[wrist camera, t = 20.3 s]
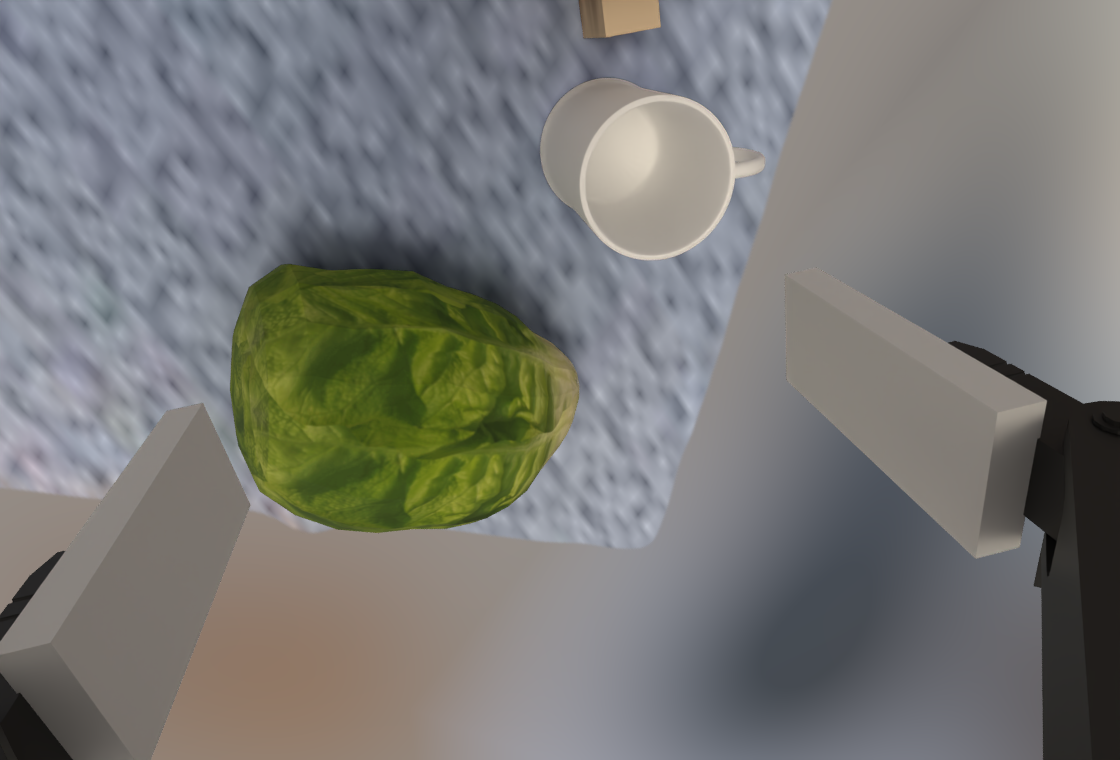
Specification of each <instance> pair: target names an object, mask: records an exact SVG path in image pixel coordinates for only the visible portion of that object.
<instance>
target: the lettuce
mask: <svg viewBox="0 0 1120 760" xmlns="http://www.w3.org/2000/svg"><path fill="white" fill-rule="evenodd" d="M230 393H231V400H232V407H233V415H234V422H235V429H236V436H237V441H238V446H239V448H240V450H241V452H242V455H243V457H244V459H245V461H246V463H247V465H248V468H249V470H250V472H251V474H252V476H253V479H254V481H255V483H256V485H257V487H258V489H259V491H260V492H261V493H263V494H264V495H266V496H267V497H269V498H270V499H272V500H273V501H275V502H276V503H278V504H279V505H281V506H282V507H284V508H285V509H287V510H288V511H290V512H291V513H293V514H294V515H297V516H300V517H302V518H305V519H308V520H311V521H314V522H317V523H320V524H323V525H326V526H329V527H332V528H335V529H338V530H349V531H362V532H373V533H380V532H389V531H398V530H408V529H447V528H451V527H456V526H461V525H465V524H470V523H473V522H476V521H479V520H482V519H485V518H487V517H489V516H491V515H493V514H495V513H497V512H499V511H501V510H503V509H504V508H506V507H508V506H509V505H510V504H512V503H513V502H514V501H515V500H516V499H518V498H519V497H520V496H521V495H522V494H523V493H525V492H526V491H527V490H528V488H529V487H530V485H531V484H532V482H533V481H534V479H535V478H536V476H537V475H538V473H539V472H540V470H541V469H542V468H543V466H544V465H545V464H546V462H547V461H548V460H549V459H550V457H551V456H552V455H553V454H554V452H555V451H556V450H557V448H558V447H559V446H560V444H561V443H562V441H563V439H564V438H565V436H566V435H567V433H568V431H569V428H570V426H571V424H572V422H573V418H574V415H575V411H576V407H577V403H578V399H579V381H578V376H577V372H576V370H575V368H574V366H573V364H572V363H571V361H570V360H569V359H568V358H567V357H566V356H565V355H564V354H563V353H562V352H561V351H560V350H559V349H558V348H557V347H556V346H555V345H554V344H552V343H551V342H549V341H548V340H546V339H544V338H542V337H541V336H539V335H537V334H535V333H533V332H532V331H531V330H530V329H529V328H528V327H527V326H526V325H525V324H524V323H523V322H521V321H520V320H519V319H518V318H517V317H516V316H515V315H513V314H511V313H510V312H508V311H507V310H505V309H503V308H502V307H500V306H499V305H497V304H495V303H493V302H491V301H488V300H486V299H483V298H481V297H478V296H476V295H473V294H470V293H467V292H463V291H460V290H456V289H453V288H450V287H447V286H444V285H442V284H440V283H438V282H435V281H433V280H431V279H429V278H426V277H424V276H422V275H420V274H417V273H415V272H413V271H400V270H382V269H350V270H325V269H318V268H312V267H305V266H299V265H292V264H285V265H280V266H279V267H277V268H276V269H274V270H273V271H271V272H270V273H269V274H267V275H266V276H264V277H263V278H261V279H260V280H259V281H257V282H256V283H254V284H253V285H251V286H250V287H249V289H248V291H247V294H246V297H245V300H244V303H243V306H242V309H241V311H240V314H239V317H238V320H237V323H236V326H235V329H234V333H233V341H232V358H231V380H230Z"/></svg>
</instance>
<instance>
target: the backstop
mask: <svg viewBox="0 0 1120 760" xmlns="http://www.w3.org/2000/svg"><path fill="white" fill-rule="evenodd" d="M579 7H580V14H581V22H582V29H583V37H584V38H604V37H611V36H616V35H622V34H627V33H632V32H638V31H643V30H648V29H654V28H659V27H661V25H660V13H659V1H658V0H579Z"/></svg>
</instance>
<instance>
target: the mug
mask: <svg viewBox="0 0 1120 760" xmlns="http://www.w3.org/2000/svg"><path fill="white" fill-rule="evenodd" d="M540 157H541V164H542V168H543V172H544V175H545V177H546V180H547V182H548V184H549V186H550V187H551V189H552V190H553V192H554V193H555V194H556V195H557V196H558V198H559V199H560V200H562V201H563V202H564V203H565V204H566V205H568V206H569V207H571V208H573V209H574V210H575V211H576V212H577V214H578V215H579V216H580V217H581V218H582V219H583V220H584V222H585V223H586V224H587V225H588V226H589V227H590V229H591V230H592V231H593V232H594V233H595V234H596V235H597V236H598V238H599V239H600V240H601V241H602V242H604V243H605V244H606V245H607V246H608V247H610V248H611V249H613V250H614V251H616V252H618V253H620V254H622V255H625V256H627V257H631V258H634V259H640V260H661V259H666V258H670V257H674V256H677V255H679V254H681V253H684V252H686V251H688V250H689V249H691V248H693V247H694V246H696V245H697V244H698V243H700V242H701V241H702V240H703V239H705V238H706V237H707V236H708V235H709V234H710V233H711V231H712V230H713V229H714V228H715V227H716V225H717V224H718V223H719V221H720V220H721V218H722V216H723V215H724V213H725V211H726V209H727V207H728V204H729V202H730V199H731V196H732V192H733V188H734V182H735V179H736V178H742V177H747V176H751V175H755V174H757V173H759V172H761V171H762V170H763V169H764V167H765V157H764V155H763V154H761V153H760V152H757V151H754V150H750V149H745V148H737V147H732V145H731V142H730V139H729V137H728V134H727V132H726V131H725V129H724V127H723V126H722V124H721V123H720V122H719V120H718V119H717V118H716V117H715V116H714V115H713V114H712V113H711V112H710V111H709V110H708V109H706V108H705V107H704V106H702V105H700V104H699V103H697V102H695V101H693V100H690V99H688V98H685V97H681V96H677V95H673V94H668V93H663V92H658V91H653V90H649V89H644V88H640V87H639V86H637V85H635V84H633V83H631V82H629V81H626V80H622V79H617V78H599V79H594V80H590V81H587V82H584V83H582V84H580V85H578V86H576V87H575V88H573V89H572V90H570V91H569V92H568V93H566V94H565V95H564V96H563V97H562V98H561V99H560V100H559V101H558V102H557V104H556V105H555V106H554V108H553V109H552V111H551V112H550V114H549V116H548V118H547V120H546V123H545V125H544V128H543V132H542V136H541V144H540ZM735 161H736V162H735Z"/></svg>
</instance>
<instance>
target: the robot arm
mask: <svg viewBox="0 0 1120 760" xmlns="http://www.w3.org/2000/svg"><path fill="white" fill-rule="evenodd" d="M785 321H786V322H785V325H786V380H787V381H788V382H789V383H790V384H791V385H792V386H793V387H794V388H795V389H796V390H797V391H799V392H800V393H801V394H802V395H803V396H804V397H805V398H806V399H807V400H808V401H809V402H810V403H811V404H812V405H813V406H814V407H815V408H816V409H818V410H819V411H820V412H821V413H822V414H823V415H824V416H825V417H826V418H827V419H828V420H829V421H830V422H831V423H832V424H833V425H835V426H836V427H837V428H838V429H839V430H840V431H841V432H842V433H843V434H844V435H845V436H846V437H847V438H848V439H849V440H850V441H852V442H853V443H854V444H855V445H856V446H857V447H858V448H859V449H860V450H861V451H862V452H863V453H864V454H866V456H867V457H868V458H869V459H871V460H872V461H873V462H874V463H875V464H876V465H877V466H878V467H879V468H880V469H881V470H882V471H883V472H884V473H885V474H886V475H888V476H889V477H890V478H891V479H892V480H893V481H894V482H895V483H896V484H897V485H898V486H899V487H900V488H901V489H902V490H903V491H904V492H906V493H907V494H908V495H909V496H910V497H911V498H912V499H913V500H914V501H915V502H916V503H917V504H918V505H919V506H920V507H921V508H922V509H924V510H925V511H926V512H927V513H928V514H929V515H930V516H931V517H932V518H933V519H934V520H935V521H936V522H937V523H938V524H940V526H942V527H943V528H944V529H945V530H946V531H947V532H948V533H949V534H950V535H951V536H952V537H953V538H954V539H955V540H956V541H957V542H959V543H960V544H961V545H962V546H963V547H964V548H965V549H966V550H967V551H968V552H969V553H970V554H971V555H972V556H973V557H974V558H980V557H984V556H988V555H991V554H995V553H999V552H1003V551H1007V550H1011V549H1015V548H1019V547H1020V542H1021V536H1022V531H1023V526H1024V521H1025V517H1027V518H1028V519H1029V520H1030V521H1032V522H1033V523H1034V524H1036V525H1037V526H1038V527H1040V528H1041V529H1042V530H1043V531H1044V532H1045V533H1044V539H1043V543H1042V548H1041V553H1040V558H1039V562H1038V567H1037V572H1036V577H1035V582H1034V586H1036V587H1040V588H1041V595H1042V689H1043V690H1042V695H1043V760H1120V402H1117V401H1116V402H1115V401H1098V402H1091V403H1085V404H1083V403H1081V402H1079V401H1077V400H1076V399H1074V398H1072V397H1070V396H1068V395H1067V394H1065V393H1063V392H1061V391H1059V390H1058V389H1056V388H1054V387H1052V386H1050V385H1048V384H1047V383H1045V382H1043V381H1041V380H1039V379H1038V378H1036V377H1034V376H1032V375H1030V374H1026V375H1025V373H1024V371H1023V370H1021V369H1019V368H1017V367H1016V366H1014V365H1012V364H1007V363H1006V361H1005V360H1003V359H1001V358H999V357H997V356H996V355H994V354H992V353H990V352H988V351H986V350H985V349H982V348H978V347H974V346H971V345H968V344H964V343H960V342H957V341H953V342H949V343H946V342H945V341H943V340H941V339H940V338H938V337H936V336H934V335H933V334H931V333H929V332H927V331H926V330H924V329H922V328H921V327H919V326H917V325H915V324H914V323H912V322H910V321H908V320H907V319H905V318H903V317H902V316H900V315H898V314H896V313H895V312H893V311H891V310H889V309H888V308H886V307H884V306H882V305H881V304H879V303H877V302H876V301H874V300H872V299H870V298H869V297H867V296H865V295H863V294H862V293H860V292H858V291H857V290H855V289H853V288H851V287H850V286H848V285H846V284H844V283H842V282H841V281H839V280H837V279H836V278H834V277H832V276H831V275H829V274H827V273H825V272H824V271H822V270H820V269H818V268H817V267H816V268H812V269H807V270H803V271H798V272H793V273H789V274H785ZM249 507H250V503H249V501H248V499H247V496H246V494H245V492H244V490H243V488H242V486H241V484H240V481H239V479H238V477H237V475H236V473H235V471H234V469H233V466H232V464H231V462H230V460H229V458H228V456H227V454H226V451H225V449H224V447H223V445H222V443H221V441H220V439H219V437H218V434H217V432H216V430H215V428H214V426H213V424H212V422H211V419H210V417H209V415H208V413H207V411H206V409H205V407H204V404H203V403H200V404H196V405H191V406H187V407H182V408H178V409H173V410H169V411H166V412H165V414H164V415H163V416H162V418H161V419H160V421H159V422H158V423H157V425H156V426H155V428H154V429H153V430H152V432H151V433H150V434H149V436H148V437H147V439H146V440H145V441H144V443H143V444H142V446H141V447H140V448H139V450H138V451H137V453H136V454H135V455H134V457H133V458H132V459H131V461H130V462H129V464H128V465H127V466H126V468H125V469H124V471H123V472H122V473H121V475H120V476H119V478H118V479H117V480H116V482H115V483H114V484H113V486H112V487H111V489H110V490H109V491H108V493H107V494H106V496H105V497H104V498H103V500H102V501H101V502H100V504H99V505H98V507H97V508H96V510H95V511H94V512H93V514H92V515H91V516H90V518H89V519H88V521H87V522H86V523H85V525H84V526H83V528H82V529H81V530H80V532H79V533H78V534H77V536H76V537H75V539H74V540H73V541H72V543H71V544H70V546H69V547H68V548H67V550H66V551H62V552H57V553H56V554H55V555H54V556H53V557H52V558H50V559H49V560H48V561H47V562H45V563H44V564H43V565H42V566H41V567H40V568H38V569H37V570H36V571H35V572H34V573H32V575H30V576H29V577H28V579H27V580H26V581H25V583H24V584H23V585H22V587H21V588H20V589H19V591H18V592H17V593H16V595H15V596H14V597H13V599H12V601H13V603H11V604H8V605H7V607H6V608H5V609H4V611H3V612H2V613H1V614H0V760H151V758H152V755H153V753H154V750H155V748H156V745H157V743H158V740H159V737H160V735H161V732H162V730H163V727H164V725H165V722H166V720H167V717H168V714H169V712H170V709H171V707H172V704H173V702H174V699H175V696H176V694H177V691H178V689H179V686H180V684H181V681H182V679H183V676H184V674H185V671H186V669H187V666H188V663H189V661H190V658H191V656H192V653H193V651H194V648H195V645H196V643H197V640H198V638H199V635H200V632H201V630H202V628H203V625H204V622H205V620H206V617H207V615H208V612H209V610H210V607H211V605H212V602H213V600H214V597H215V594H216V592H217V589H218V586H219V584H220V582H221V579H222V576H223V574H224V571H225V569H226V566H227V564H228V561H229V558H230V556H231V553H232V551H233V548H234V546H235V543H236V541H237V538H238V535H239V533H240V530H241V528H242V525H243V523H244V520H245V518H246V515H247V513H248V510H249Z"/></svg>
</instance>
